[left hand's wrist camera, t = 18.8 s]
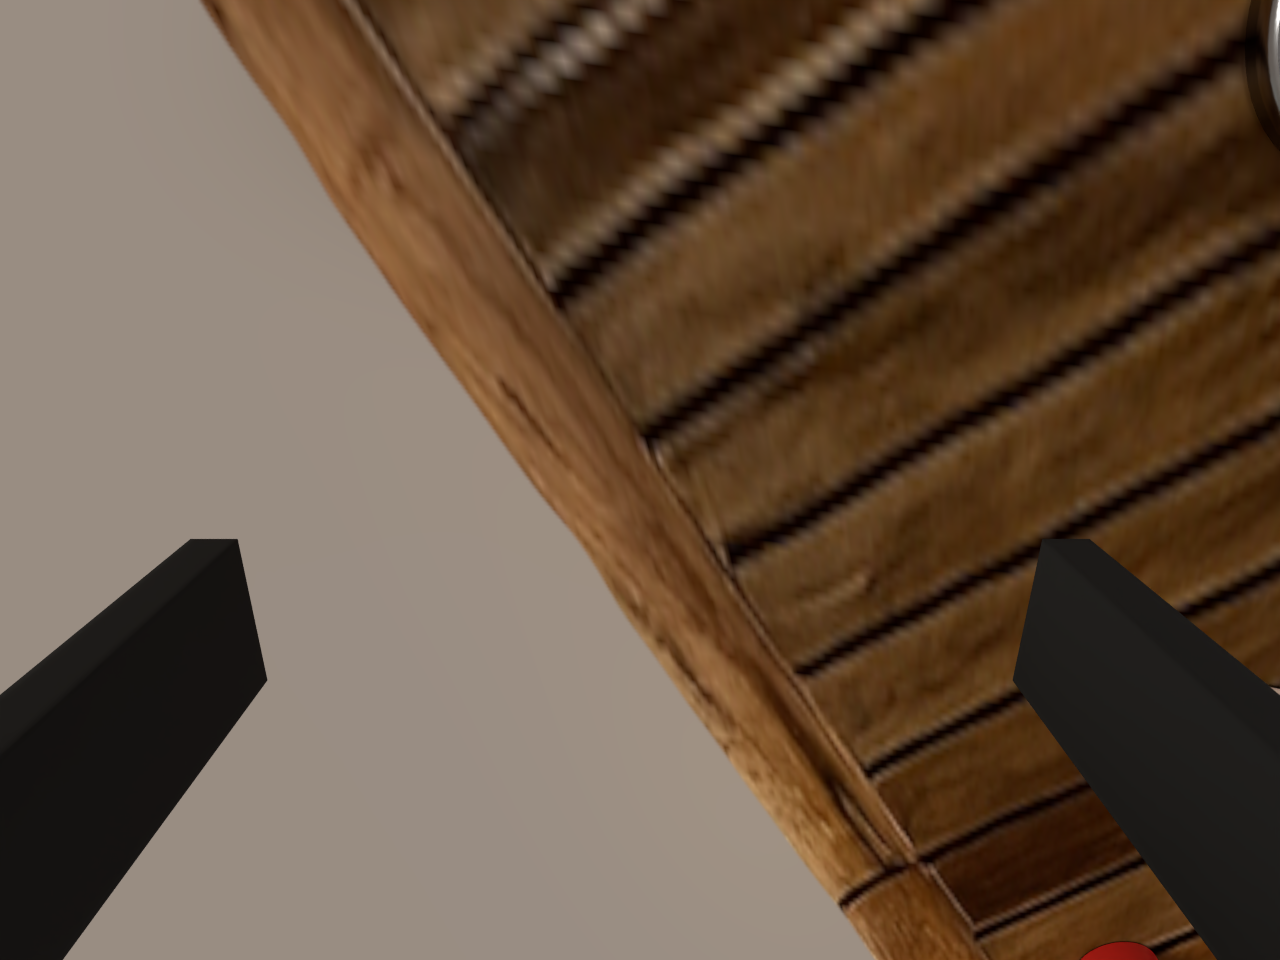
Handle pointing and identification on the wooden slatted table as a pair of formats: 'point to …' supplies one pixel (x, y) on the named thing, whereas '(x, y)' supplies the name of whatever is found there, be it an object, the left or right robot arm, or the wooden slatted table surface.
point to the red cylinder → (1121, 952)
